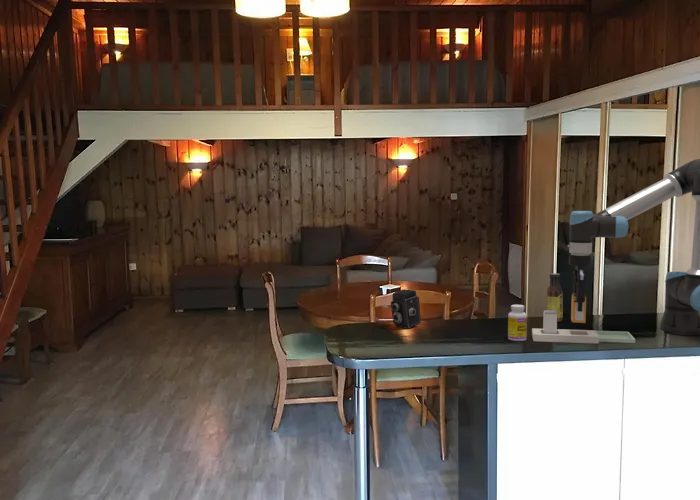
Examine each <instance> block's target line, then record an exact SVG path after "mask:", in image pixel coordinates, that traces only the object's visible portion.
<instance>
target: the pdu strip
mask: <svg viewBox="0 0 700 500" xmlns="http://www.w3.org/2000/svg"><path fill="white" fill-rule="evenodd" d="M595 331H596V330H593V329H592V330H589V329H565V328H564V329H562V328H561V329H560V328H558V329H557V334H543V328H534V327H533V328H531V337H532V341H533V342H542V343H543V342H545V343H546V342H547V343H568V344H569V343H571V344H572V343H575V344H599V343H600V342H599V336H598V335H597V333H596V332H595Z"/></svg>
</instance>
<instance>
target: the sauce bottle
mask: <svg viewBox="0 0 700 500" xmlns="http://www.w3.org/2000/svg"><path fill="white" fill-rule="evenodd" d="M560 277H561V273H557V272H556V273H549V286H548V288H547V290H546V292H547V294H546V310H553V311H556V313H557V323H560V322H562V321H563V317H564V316H563V313H564V311H563V310H564V304H563V302H564V300H563V299H564V294H563V293H564V292H563V290H562V287H561V283H560Z"/></svg>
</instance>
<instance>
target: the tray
mask: <svg viewBox="0 0 700 500" xmlns="http://www.w3.org/2000/svg"><path fill="white" fill-rule="evenodd" d="M595 332H596V333H597V335H598V336H599V343H600V342H601V343H625V344H626V343H628V344H636V338H635V337H634V336H633V335H632V334H631V333H630V332H629V331H619V330H618V331H616V330H615V331H614V330H613V331H611V330H595Z"/></svg>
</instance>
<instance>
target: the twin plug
mask: <svg viewBox="0 0 700 500" xmlns="http://www.w3.org/2000/svg"><path fill="white" fill-rule="evenodd" d="M542 315H543V316H542V319H543V322H542V329H543V334H557V328H558V322H557V313H556V311H553V310H547V309H546V310H545V309H544V310H543V314H542Z"/></svg>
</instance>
